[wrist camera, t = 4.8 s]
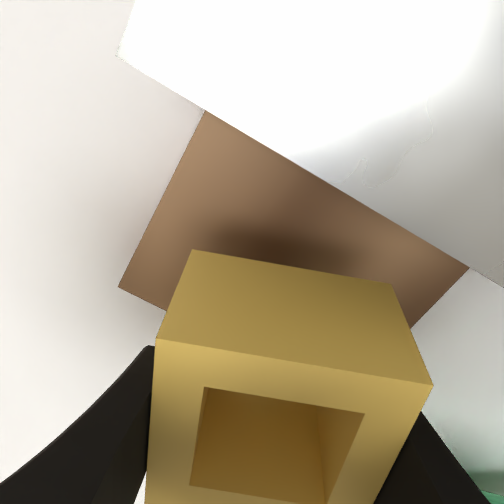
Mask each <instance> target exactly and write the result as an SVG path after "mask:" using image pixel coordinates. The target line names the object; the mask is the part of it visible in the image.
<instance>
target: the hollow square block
mask: <svg viewBox="0 0 504 504" xmlns="http://www.w3.org/2000/svg"><path fill="white" fill-rule="evenodd" d="M433 386H434V385H433V383H432V381H431V378H430V376H429V373H428V371H427V369H426V366H425V364H424V361H423V359H422V357H421V354H420V352H419V350H418V347H417V345H416V342H415V340H414V338H413V335H412V333H411V330H410V328H409V326H408V323H407V321H406V318H405V316H404V314H403V311H402V309H401V307H400V304H399V302H398V299H397V297H396V295H395V292H394V290H393V287H392V285H391V284H388V283H383V282H377V281H371V280H366V279H360V278H354V277H348V276H343V275H337V274H331V273H326V272H320V271H314V270H308V269H303V268H297V267H291V266H286V265H280V264H274V263H268V262H263V261H257V260H251V259H245V258H240V257H234V256H228V255H223V254H217V253H211V252H205V251H200V250H194V249H192V251H191V253H190V256H189V258H188V260H187V263H186V265H185V268H184V270H183V273H182V275H181V278H180V280H179V283H178V285H177V287H176V290H175V292H174V295H173V297H172V300H171V302H170V305H169V307H168V309H167V312H166V314H165V317H164V319H163V322H162V324H161V327H160V329H159V331H158V334H157V336H156V342H155V356H154V371H153V385H152V400H151V415H150V429H149V444H148V459H147V473H146V488H145V502H144V504H373V503H374V501H375V499H376V497H377V495H378V493H379V491H380V489H381V487H382V485H383V483H384V482H385V480H386V478H387V476H388V474H389V472H390V470H391V468H392V466H393V464H394V462H395V460H396V458H397V456H398V454H399V452H400V450H401V448H402V446H403V444H404V442H405V441H406V439H407V437H408V435H409V433H410V431H411V429H412V427H413V425H414V423H415V421H416V419H417V417H418V415H419V413H420V411H421V409H422V407H423V405H424V403H425V401H426V400H427V398H428V396H429V394H430V392H431V390H432V388H433Z"/></svg>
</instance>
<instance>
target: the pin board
mask: <svg viewBox="0 0 504 504" xmlns="http://www.w3.org/2000/svg"><path fill="white" fill-rule="evenodd" d="M192 249H194V250H200V251H205V252H211V253H217V254H223V255H228V256H234V257H240V258H245V259H251V260H257V261H263V262H268V263H274V264H280V265H286V266H291V267H297V268H303V269H308V270H314V271H320V272H326V273H331V274H337V275H343V276H348V277H354V278H360V279H366V280H371V281H377V282H383V283H388V284H391V285H392V287H393V290H394V292H395V295H396V297H397V299H398V302H399V304H400V307H401V309H402V311H403V314H404V316H405V318H406V321H407V323H408V326H409V328H410V329H411V327H412V326H413V325H414V324H415V323H416V322H417V321H418V320H419V319H420V318H421V317H422V316H423V315H424V314H425V313H426V312H427V311H428V310H429V309H430V308H431V307H432V306H433V305H434V304H435V303H436V302H437V301H438V300H439V299H440V298H441V297H442V296H443V295H444V294H445V293H446V292H447V291H448V290H449V289H450V288H451V286H452V285H453V284H454V283H455V282H456V281H457V280H458V279H459V278H460V277H461V276H462V275H463V274H464V273H465V272H466V271H467V270H468V269H469V268H470V267H468V266H467V265H465V264H463V263H462V262H460V261H458V260H457V259H455V258H453V257H451V256H450V255H448V254H446V253H445V252H443V251H441V250H440V249H438V248H436V247H435V246H433V245H431V244H430V243H428V242H426V241H425V240H423V239H421V238H420V237H418V236H416V235H415V234H413V233H411V232H410V231H408V230H406V229H405V228H403V227H401V226H400V225H398V224H396V223H394V222H393V221H391V220H389V219H388V218H386V217H384V216H383V215H381V214H379V213H378V212H376V211H374V210H373V209H371V208H369V207H368V206H366V205H364V204H363V203H361V202H359V201H358V200H356V199H354V198H353V197H351V196H349V195H348V194H346V193H344V192H343V191H341V190H339V189H338V188H336V187H334V186H332V185H331V184H329V183H327V182H326V181H324V180H322V179H321V178H319V177H317V176H316V175H314V174H312V173H311V172H309V171H307V170H306V169H304V168H302V167H301V166H299V165H297V164H296V163H294V162H292V161H291V160H289V159H287V158H286V157H284V156H282V155H281V154H279V153H277V152H276V151H274V150H272V149H270V148H269V147H267V146H265V145H264V144H262V143H260V142H259V141H257V140H255V139H254V138H252V137H250V136H249V135H247V134H245V133H244V132H242V131H240V130H239V129H237V128H235V127H234V126H232V125H230V124H229V123H227V122H225V121H224V120H222V119H220V118H219V117H217V116H215V115H213V114H212V113H210V112H208V111H207V110H205V112H204V114H203V116H202V118H201V120H200V122H199V124H198V126H197V128H196V130H195V132H194V134H193V136H192V138H191V140H190V142H189V144H188V146H187V148H186V150H185V152H184V154H183V156H182V158H181V160H180V162H179V164H178V166H177V168H176V170H175V172H174V174H173V176H172V178H171V180H170V182H169V184H168V186H167V188H166V191H165V193H164V195H163V197H162V199H161V201H160V203H159V205H158V207H157V209H156V211H155V213H154V215H153V217H152V219H151V221H150V223H149V225H148V227H147V229H146V231H145V233H144V235H143V237H142V239H141V241H140V243H139V245H138V247H137V249H136V251H135V253H134V255H133V257H132V259H131V261H130V263H129V265H128V267H127V269H126V271H125V273H124V275H123V277H122V279H121V281H120V283H119V285H118V287H119V288H121V289H123V290H125V291H127V292H129V293H131V294H133V295H135V296H137V297H139V298H141V299H143V300H145V301H147V302H149V303H151V304H153V305H155V306H157V307H159V308H161V309H163V310H165V311H167V309H168V307H169V305H170V302H171V300H172V297H173V295H174V292H175V290H176V287H177V285H178V283H179V280H180V278H181V275H182V273H183V270H184V268H185V265H186V263H187V260H188V258H189V256H190V253H191V251H192Z"/></svg>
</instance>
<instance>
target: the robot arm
mask: <svg viewBox="0 0 504 504" xmlns="http://www.w3.org/2000/svg"><path fill="white" fill-rule="evenodd" d="M154 356H155V346H150V345H148V346H146V347H144V348H143V349H142V351H141V352H140V353H139V355H138V356H137V357H136V358H135V359H134V361H133V362H132V363H131V364H130V365H129V366H128V368H127V369H126V370H125V371H124V372H123V373H122V374H121V375H120V377H119V378H118V379H117V380H116V381H115V382H114V383H113V384H112V385H111V386H110V387H109V388H108V389H107V390H106V391H105V392H104V393H103V394H102V395H101V396H100V397H99V398H98V399H97V400H96V401H95V402H94V404H93V405H92V406H91V407H90V408H88V409H87V410H86V411H85V412H84V413H83V414H82V415H81V416H80V417H79V418H78V419H77V420H76V421H75V422H73V423H72V424H71V425H70V426H69V427H68V428H67V429H66V430H65V431H64V432H63V433H61V434H60V435H59V436H58V437H57V438H56V439H55V440H54V441H52V442H51V443H50V444H49V445H48V446H47V447H45V448H44V449H43V450H42V451H41V452H39V453H38V454H37V455H36V456H35V457H33V458H32V459H31V460H30V461H28V462H27V463H26V464H25V465H23V466H22V467H21V468H20V469H18V470H17V471H16V472H15V473H13V474H12V475H11V476H9V477H8V478H7V479H5V480H4V481H3V482H1V483H0V504H134V502H135V499H136V497H137V494H138V491H139V489H140V486H141V484H142V481H143V479H144V476H145V473H146V471H147V459H148V444H149V429H150V415H151V400H152V385H153V371H154ZM373 504H491V503H490V502H489V500H488V499H487V498H486V497H485V496H484V494H483V493H482V492H481V491H480V489H479V488H478V487H477V486H476V484H475V483H474V482H473V481H472V479H471V478H470V477H469V475H468V474H467V473H466V472H465V470H464V469H463V468H462V466H461V465H460V464H459V462H458V461H457V460H456V458H455V457H454V456H453V454H452V453H451V452H450V450H449V449H448V448H447V446H446V445H445V444H444V442H443V441H442V440H441V438H440V437H439V435H438V434H437V433H436V431H435V430H434V428H433V427H432V426H431V424H430V423H429V422H428V420H427V419H426V417H425V416H424V415H423V413H422V412H421V411H420V413H419V415H418V417H417V419H416V421H415V423H414V425H413V427H412V429H411V431H410V433H409V435H408V437H407V439H406V441H405V442H404V444H403V446H402V448H401V450H400V452H399V454H398V456H397V458H396V460H395V462H394V464H393V466H392V468H391V470H390V472H389V474H388V476H387V478H386V480H385V482H384V483H383V485H382V487H381V489H380V491H379V493H378V495H377V497H376V499H375V501H374V503H373Z"/></svg>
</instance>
